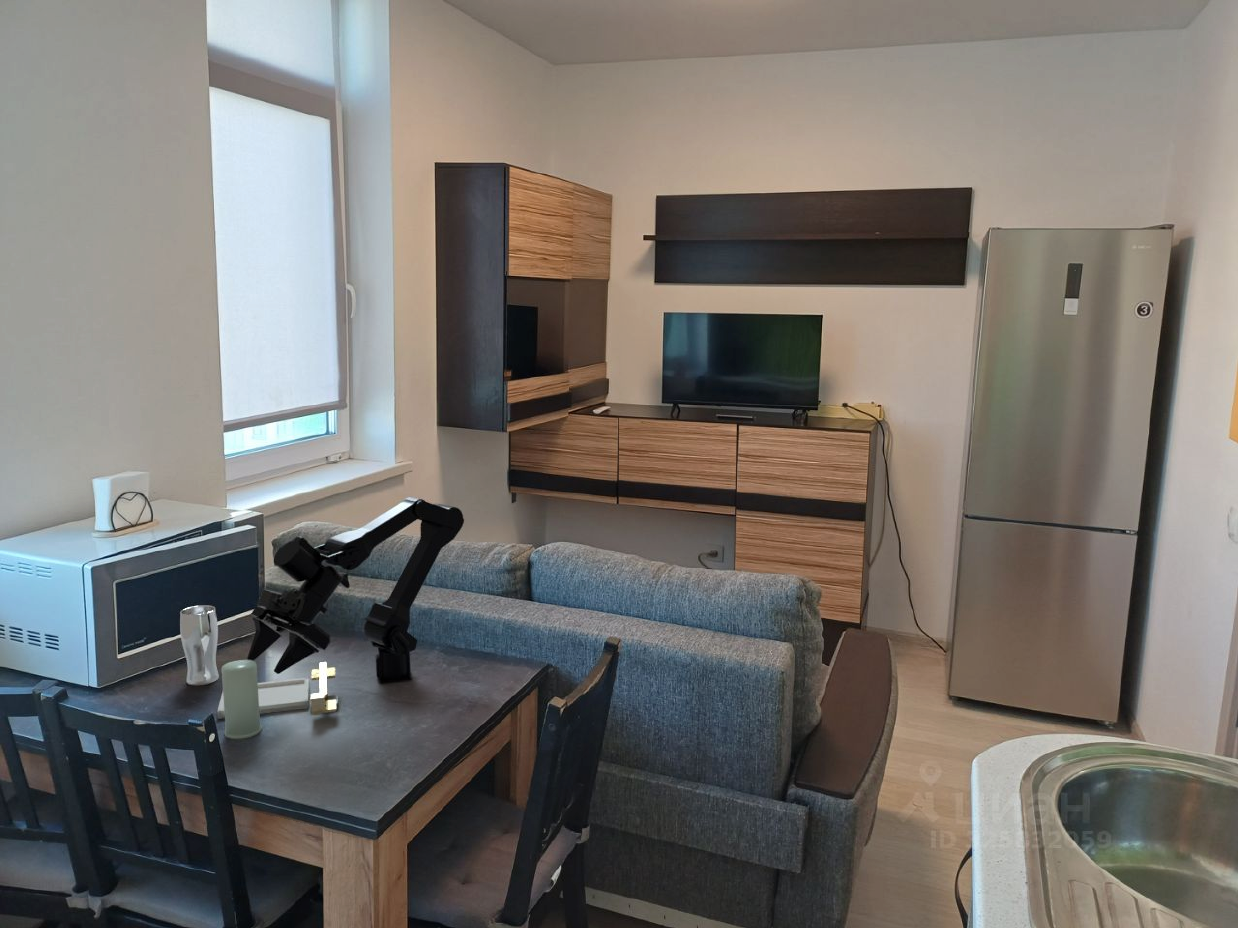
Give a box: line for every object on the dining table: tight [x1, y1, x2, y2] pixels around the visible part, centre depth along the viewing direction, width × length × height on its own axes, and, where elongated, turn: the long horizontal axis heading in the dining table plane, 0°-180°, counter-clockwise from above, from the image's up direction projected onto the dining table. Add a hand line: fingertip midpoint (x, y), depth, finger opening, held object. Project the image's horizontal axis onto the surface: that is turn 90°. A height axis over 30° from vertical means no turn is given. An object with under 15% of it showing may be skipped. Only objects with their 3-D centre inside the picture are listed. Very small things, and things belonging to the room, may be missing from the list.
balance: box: [310, 661, 339, 715], centre depth 175 cm, size 5×15×7 cm, turn 18°
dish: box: [217, 677, 310, 720], centre depth 178 cm, size 16×12×2 cm
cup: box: [221, 659, 263, 740], centre depth 164 cm, size 6×6×12 cm
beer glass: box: [179, 604, 220, 686], centre depth 187 cm, size 7×7×15 cm
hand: (262, 666), depth 167 cm, fingers open, 9 cm apart
